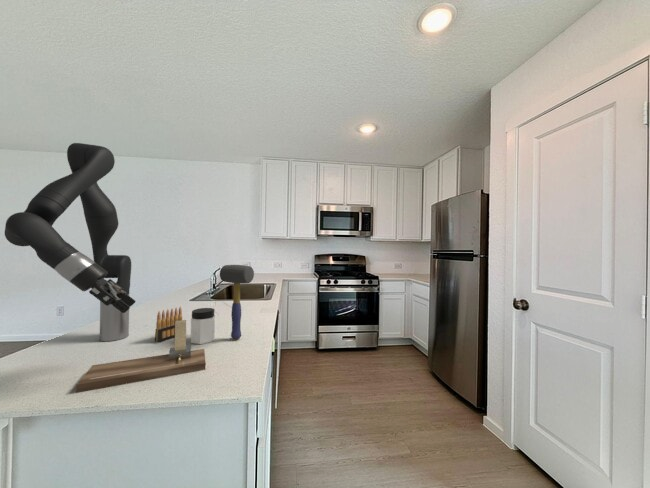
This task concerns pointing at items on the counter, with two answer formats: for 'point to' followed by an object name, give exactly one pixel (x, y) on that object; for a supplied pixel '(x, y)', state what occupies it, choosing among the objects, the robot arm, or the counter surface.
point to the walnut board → (139, 370)
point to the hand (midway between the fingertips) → (130, 307)
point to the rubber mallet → (236, 291)
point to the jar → (202, 326)
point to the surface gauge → (180, 343)
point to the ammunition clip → (167, 325)
